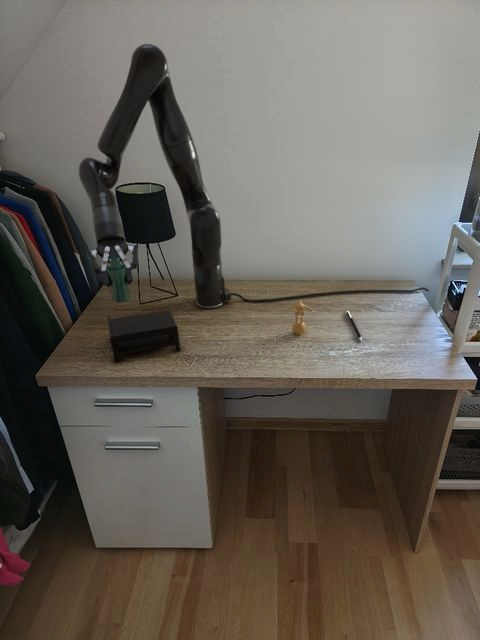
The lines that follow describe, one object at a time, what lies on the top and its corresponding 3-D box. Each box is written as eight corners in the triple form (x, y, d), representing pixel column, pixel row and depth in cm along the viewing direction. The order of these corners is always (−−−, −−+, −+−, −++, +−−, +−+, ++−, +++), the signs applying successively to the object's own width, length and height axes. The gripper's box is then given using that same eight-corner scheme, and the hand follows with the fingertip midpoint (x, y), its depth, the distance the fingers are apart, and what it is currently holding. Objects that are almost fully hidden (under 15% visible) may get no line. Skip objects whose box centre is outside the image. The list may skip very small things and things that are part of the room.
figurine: (312, 330, 146) (313, 294, 139) (313, 340, 141) (315, 303, 134) (284, 329, 146) (285, 294, 140) (285, 340, 141) (285, 303, 134)
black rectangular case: (172, 329, 147) (169, 305, 143) (180, 351, 137) (177, 325, 132) (112, 339, 142) (107, 315, 138) (115, 362, 132) (109, 337, 128)
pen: (348, 312, 155) (348, 308, 154) (363, 342, 139) (363, 339, 138) (345, 312, 155) (345, 309, 154) (360, 342, 139) (360, 339, 138)
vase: (129, 293, 135) (122, 254, 129) (131, 300, 131) (124, 261, 125) (112, 296, 134) (104, 257, 128) (113, 303, 130) (105, 263, 124)
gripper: (78, 223, 126) (89, 283, 123) (134, 217, 130) (146, 275, 127) (82, 236, 133) (92, 293, 130) (135, 230, 137) (146, 286, 134)
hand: (119, 284), depth 128 cm, fingers closed on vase, 5 cm apart
